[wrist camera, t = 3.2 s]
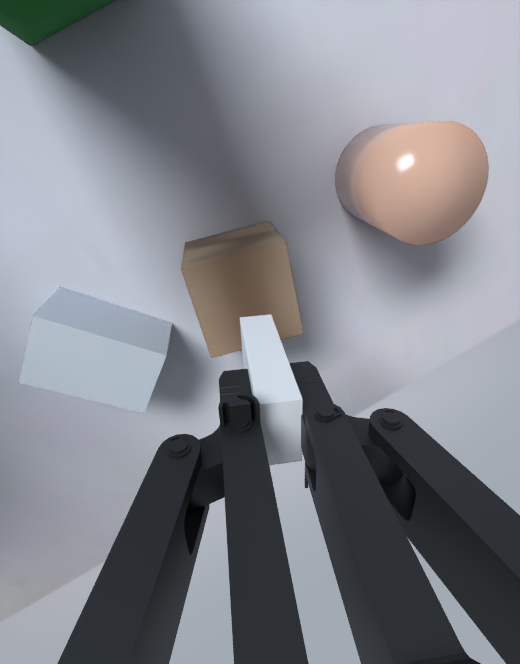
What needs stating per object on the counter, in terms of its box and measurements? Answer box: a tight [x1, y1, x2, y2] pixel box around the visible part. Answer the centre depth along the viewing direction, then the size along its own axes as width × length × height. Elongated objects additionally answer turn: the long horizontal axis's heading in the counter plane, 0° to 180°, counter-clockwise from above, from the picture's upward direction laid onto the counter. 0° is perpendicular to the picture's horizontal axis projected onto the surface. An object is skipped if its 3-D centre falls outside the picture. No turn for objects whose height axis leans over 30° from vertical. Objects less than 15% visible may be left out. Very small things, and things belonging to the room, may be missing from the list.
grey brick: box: [18, 287, 172, 414], centre depth 26 cm, size 8×5×5 cm, turn 66°
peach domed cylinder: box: [335, 121, 489, 245], centre depth 23 cm, size 6×6×7 cm
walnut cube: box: [181, 221, 303, 358], centre depth 25 cm, size 6×6×6 cm
